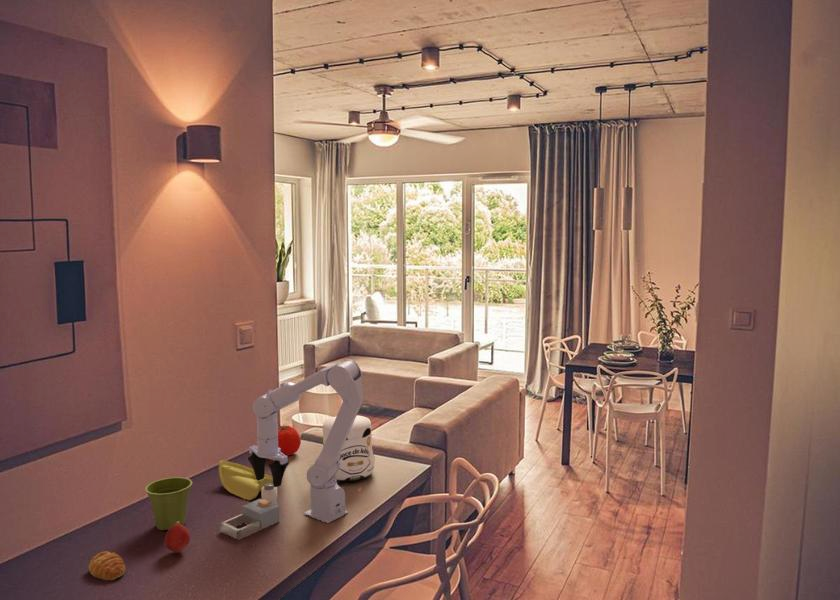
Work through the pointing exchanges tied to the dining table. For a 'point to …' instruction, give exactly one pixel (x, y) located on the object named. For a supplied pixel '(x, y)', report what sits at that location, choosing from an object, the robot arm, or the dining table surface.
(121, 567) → the pastry
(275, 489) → the cream capped bottle
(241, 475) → the plastic component
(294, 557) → the dining table surface
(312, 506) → the robot arm
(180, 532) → the onion
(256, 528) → the beige tray
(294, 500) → the dining table surface
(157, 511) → the plant pot
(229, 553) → the dining table surface
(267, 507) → the block
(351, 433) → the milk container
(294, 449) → the tomato
